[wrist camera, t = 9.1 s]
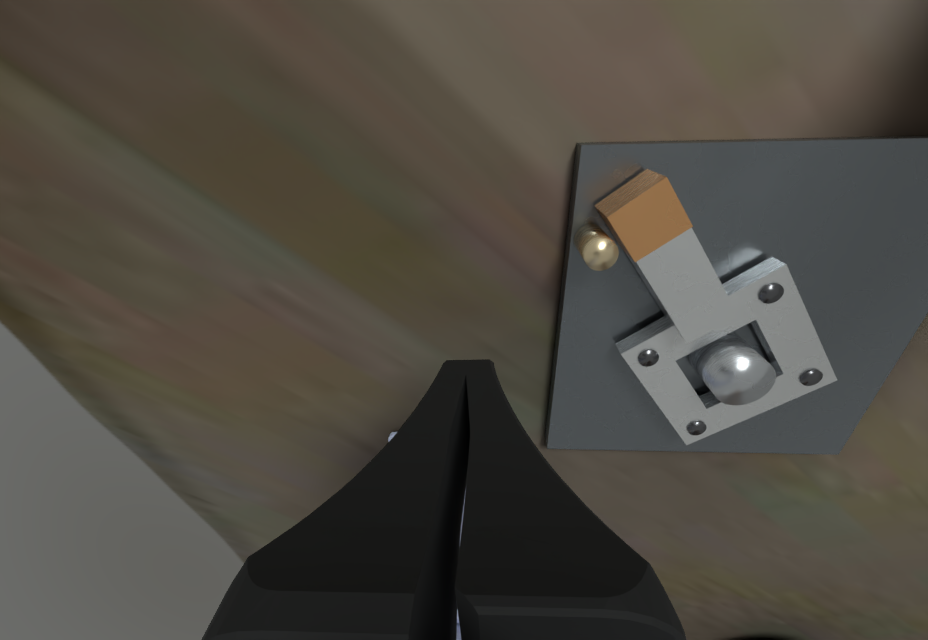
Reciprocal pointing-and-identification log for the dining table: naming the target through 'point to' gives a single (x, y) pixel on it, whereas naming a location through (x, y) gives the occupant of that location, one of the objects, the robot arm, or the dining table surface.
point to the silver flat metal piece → (705, 311)
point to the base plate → (731, 253)
